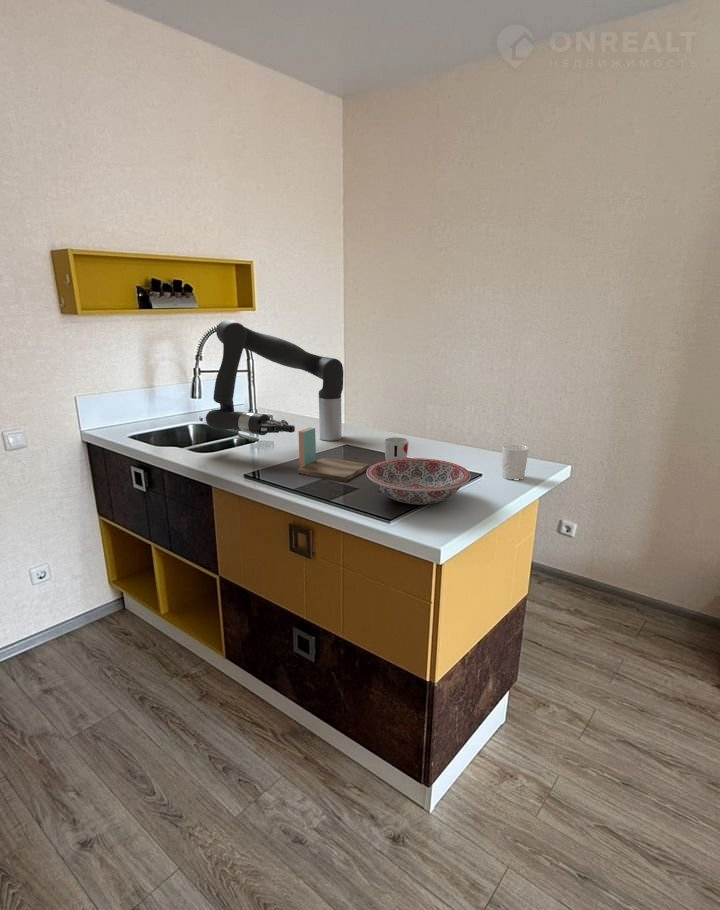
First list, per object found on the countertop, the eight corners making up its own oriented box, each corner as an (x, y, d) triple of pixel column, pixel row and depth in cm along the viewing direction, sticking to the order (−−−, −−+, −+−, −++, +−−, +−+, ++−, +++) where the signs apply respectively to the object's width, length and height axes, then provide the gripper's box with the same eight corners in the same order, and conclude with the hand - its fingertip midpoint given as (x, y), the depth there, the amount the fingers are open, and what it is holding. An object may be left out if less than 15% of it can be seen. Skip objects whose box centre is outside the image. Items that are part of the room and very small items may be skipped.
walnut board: (324, 461, 186) (324, 457, 185) (369, 468, 177) (369, 464, 177) (298, 473, 172) (298, 469, 172) (344, 481, 164) (344, 477, 163)
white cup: (521, 482, 163) (524, 451, 160) (497, 478, 167) (499, 448, 164) (528, 476, 169) (531, 446, 166) (504, 472, 173) (506, 443, 170)
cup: (391, 473, 172) (392, 444, 169) (379, 467, 179) (379, 438, 176) (412, 470, 176) (413, 441, 173) (399, 464, 182) (400, 436, 180)
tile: (310, 463, 183) (309, 427, 180) (316, 464, 182) (315, 428, 178) (299, 468, 178) (298, 431, 174) (305, 469, 177) (304, 432, 173)
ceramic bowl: (469, 522, 133) (470, 492, 131) (356, 514, 138) (356, 485, 136) (469, 485, 160) (470, 460, 158) (375, 479, 166) (376, 455, 164)
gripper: (241, 416, 180) (281, 421, 172) (265, 410, 191) (304, 415, 183) (242, 437, 182) (281, 443, 174) (266, 430, 193) (304, 436, 185)
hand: (293, 429), depth 179 cm, fingers closed
